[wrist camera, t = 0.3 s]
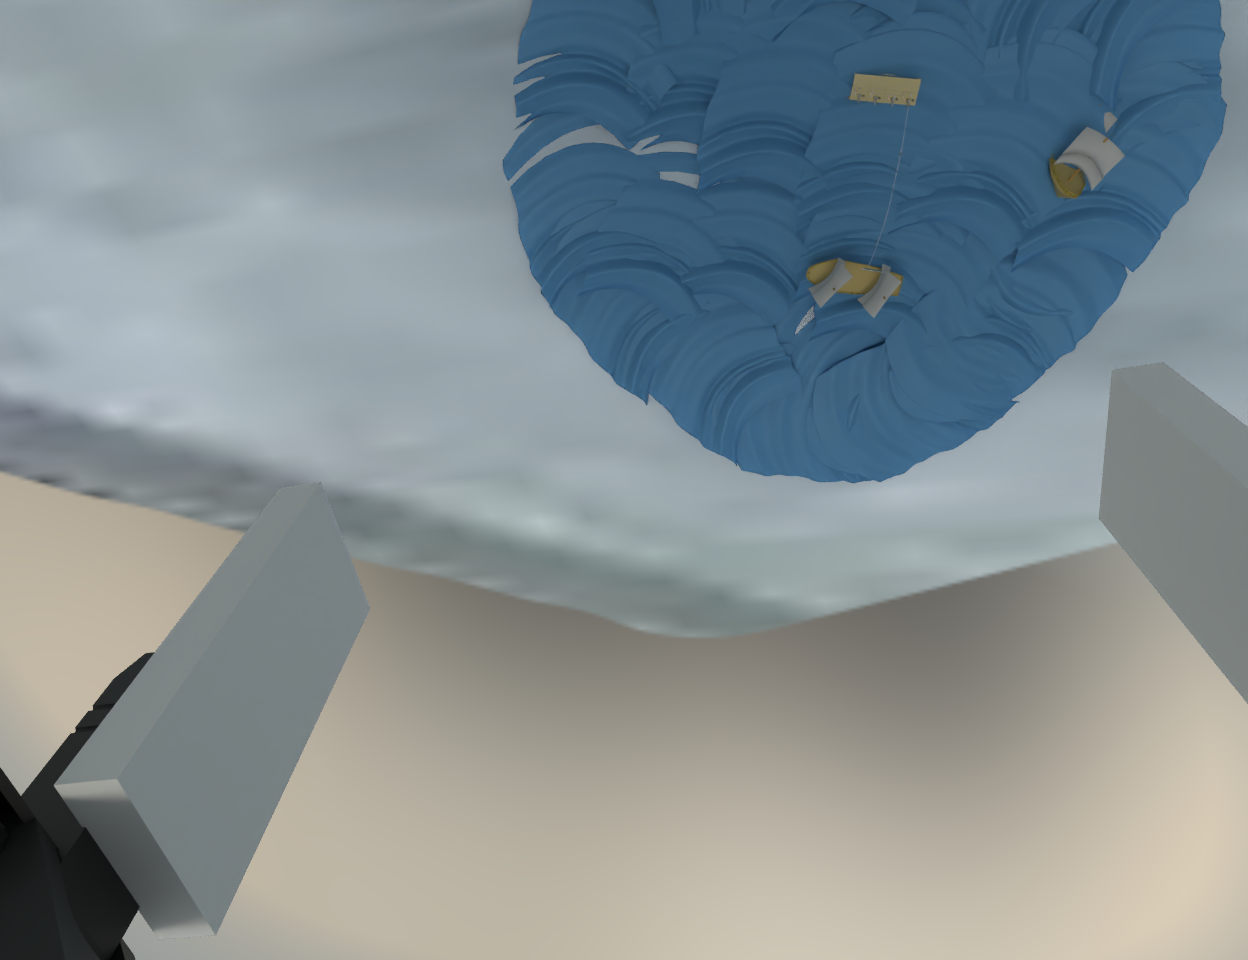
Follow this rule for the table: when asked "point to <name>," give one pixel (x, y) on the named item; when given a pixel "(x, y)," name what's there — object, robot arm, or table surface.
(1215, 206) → the table surface
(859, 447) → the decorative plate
